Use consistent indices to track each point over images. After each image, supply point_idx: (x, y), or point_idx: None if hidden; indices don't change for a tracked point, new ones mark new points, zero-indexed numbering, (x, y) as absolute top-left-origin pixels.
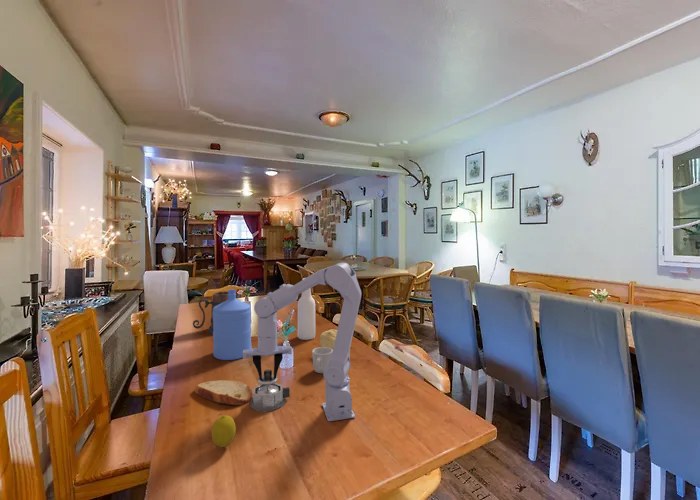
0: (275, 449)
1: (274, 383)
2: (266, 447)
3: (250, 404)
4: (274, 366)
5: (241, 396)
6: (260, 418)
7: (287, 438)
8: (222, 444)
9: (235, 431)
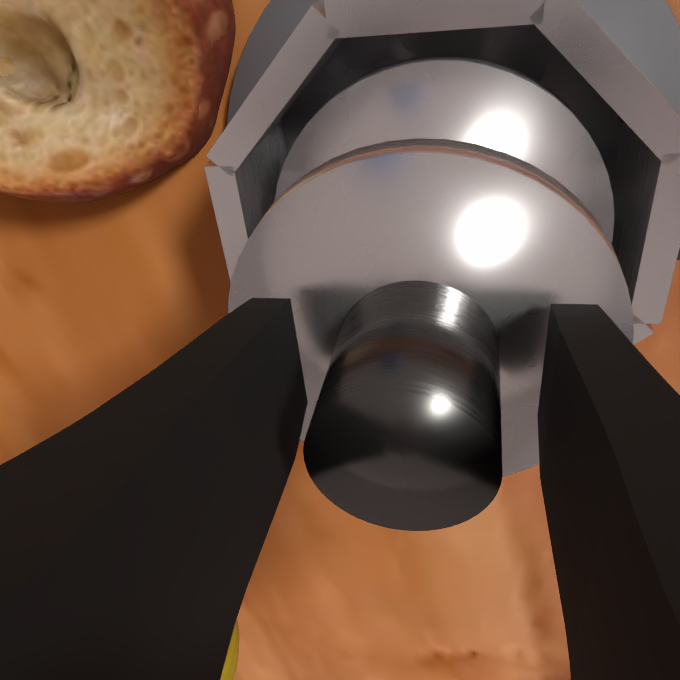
0: (472, 659)
1: (567, 50)
2: (425, 637)
3: None
4: (583, 656)
5: (85, 67)
6: None
7: (553, 625)
8: None
9: (235, 664)
